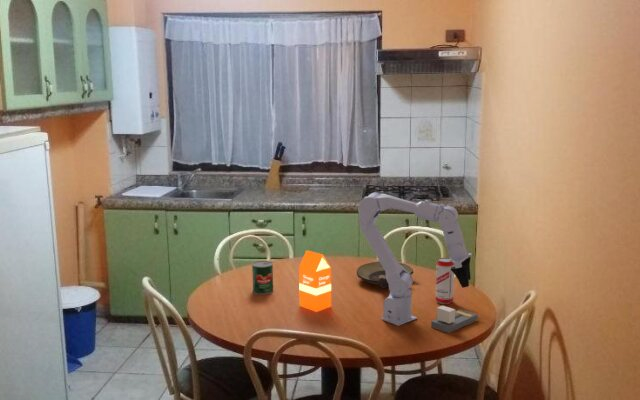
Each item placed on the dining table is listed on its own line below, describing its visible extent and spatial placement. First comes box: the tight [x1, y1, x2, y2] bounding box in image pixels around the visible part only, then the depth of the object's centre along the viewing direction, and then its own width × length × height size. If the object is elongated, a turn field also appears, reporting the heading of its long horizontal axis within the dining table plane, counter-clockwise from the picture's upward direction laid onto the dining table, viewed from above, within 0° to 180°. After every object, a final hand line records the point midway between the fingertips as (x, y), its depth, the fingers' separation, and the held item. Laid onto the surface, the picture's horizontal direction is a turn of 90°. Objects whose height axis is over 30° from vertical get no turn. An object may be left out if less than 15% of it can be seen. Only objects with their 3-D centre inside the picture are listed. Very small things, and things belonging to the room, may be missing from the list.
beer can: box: [435, 257, 455, 305], centre depth 226 cm, size 6×6×16 cm
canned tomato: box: [251, 260, 274, 296], centre depth 241 cm, size 8×8×11 cm
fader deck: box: [430, 308, 479, 334], centre depth 208 cm, size 16×7×2 cm, turn 132°
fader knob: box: [436, 305, 456, 323], centre depth 204 cm, size 3×5×4 cm, turn 42°
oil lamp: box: [356, 260, 414, 289], centre depth 249 cm, size 22×30×8 cm
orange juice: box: [298, 250, 332, 313], centre depth 223 cm, size 8×9×20 cm
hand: (466, 283), depth 202 cm, fingers open, 7 cm apart
